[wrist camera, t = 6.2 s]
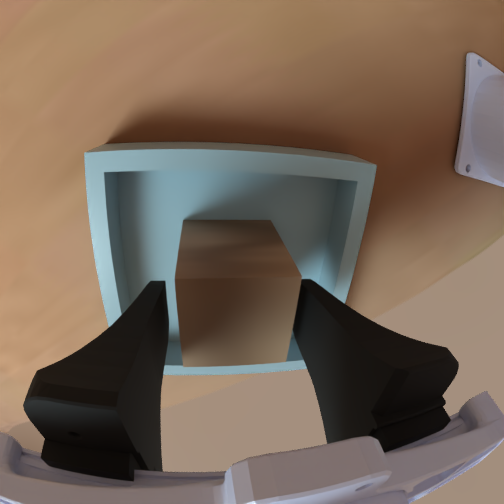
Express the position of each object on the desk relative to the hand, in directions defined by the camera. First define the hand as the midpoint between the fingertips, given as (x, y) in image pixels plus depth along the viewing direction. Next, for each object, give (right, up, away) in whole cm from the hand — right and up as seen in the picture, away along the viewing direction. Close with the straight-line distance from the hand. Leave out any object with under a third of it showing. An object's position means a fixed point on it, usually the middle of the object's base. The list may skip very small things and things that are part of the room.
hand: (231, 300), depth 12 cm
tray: (-1, +2, +3) cm, 3 cm away
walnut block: (0, +2, +2) cm, 3 cm away
